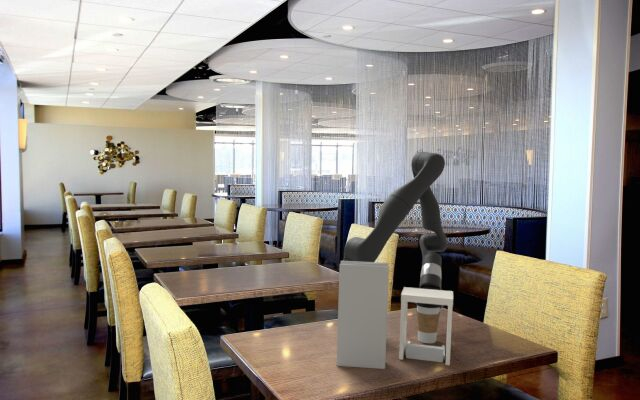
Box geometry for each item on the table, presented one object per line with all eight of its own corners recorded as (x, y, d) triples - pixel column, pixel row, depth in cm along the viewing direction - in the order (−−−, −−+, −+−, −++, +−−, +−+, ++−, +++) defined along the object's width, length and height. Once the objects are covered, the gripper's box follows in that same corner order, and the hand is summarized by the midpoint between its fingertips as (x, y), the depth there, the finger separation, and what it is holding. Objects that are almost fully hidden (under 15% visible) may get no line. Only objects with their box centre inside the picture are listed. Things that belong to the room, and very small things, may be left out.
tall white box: (384, 361, 154) (388, 262, 152) (385, 368, 149) (389, 266, 146) (337, 358, 155) (340, 260, 153) (336, 365, 150) (339, 264, 148)
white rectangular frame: (398, 359, 156) (401, 294, 155) (402, 344, 169) (404, 285, 167) (450, 365, 153) (453, 299, 151) (450, 350, 165) (452, 289, 164)
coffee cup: (440, 338, 176) (442, 295, 175) (438, 346, 168) (440, 301, 167) (416, 335, 179) (418, 292, 178) (412, 342, 171) (414, 298, 170)
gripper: (412, 271, 188) (408, 313, 177) (449, 274, 185) (447, 317, 174) (412, 282, 194) (409, 323, 183) (448, 285, 191) (447, 327, 180)
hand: (428, 320), depth 178 cm, fingers closed
